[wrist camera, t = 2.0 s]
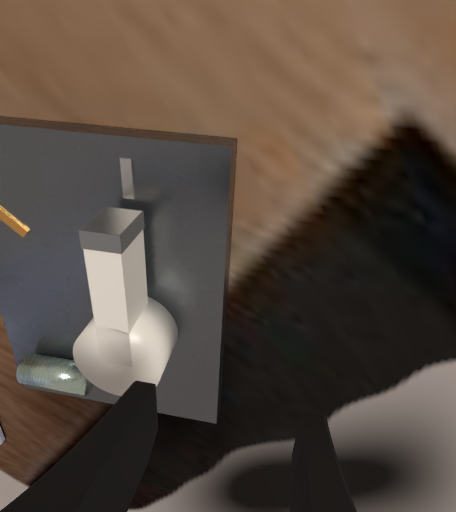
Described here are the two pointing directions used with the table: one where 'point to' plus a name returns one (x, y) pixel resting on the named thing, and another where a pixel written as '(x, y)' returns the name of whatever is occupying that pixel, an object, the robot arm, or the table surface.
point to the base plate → (155, 243)
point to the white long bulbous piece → (121, 307)
